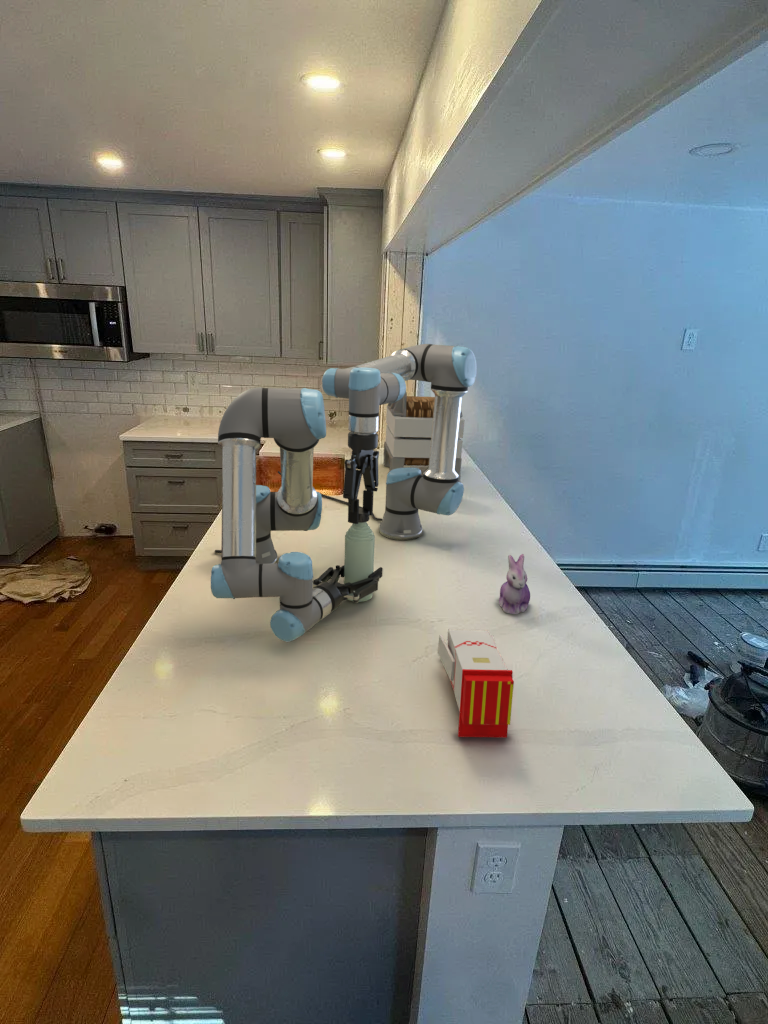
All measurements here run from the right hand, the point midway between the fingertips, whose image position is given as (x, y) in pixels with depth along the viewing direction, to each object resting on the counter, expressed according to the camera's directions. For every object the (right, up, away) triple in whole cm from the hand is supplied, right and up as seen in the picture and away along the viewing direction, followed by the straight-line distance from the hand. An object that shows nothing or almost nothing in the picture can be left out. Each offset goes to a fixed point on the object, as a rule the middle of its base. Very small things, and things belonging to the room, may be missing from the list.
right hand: (360, 518), depth 149 cm
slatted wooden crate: (+23, +20, +126) cm, 130 cm away
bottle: (-1, -21, +8) cm, 23 cm away
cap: (0, +2, -1) cm, 2 cm away
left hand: (+2, -14, +10) cm, 17 cm away
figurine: (+41, -24, +5) cm, 48 cm away
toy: (+24, -36, -30) cm, 53 cm away
